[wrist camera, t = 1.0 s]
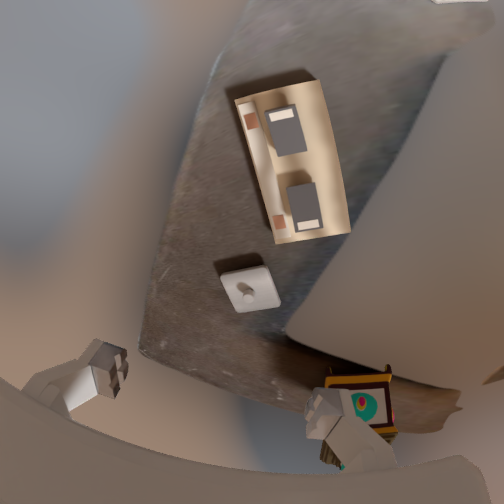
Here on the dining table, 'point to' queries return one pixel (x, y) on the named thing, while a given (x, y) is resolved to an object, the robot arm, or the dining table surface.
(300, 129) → the plate
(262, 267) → the light switch
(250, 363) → the dining table surface
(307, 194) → the plate
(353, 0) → the dining table surface
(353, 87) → the dining table surface
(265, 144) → the switch panel
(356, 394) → the decorative lantern
